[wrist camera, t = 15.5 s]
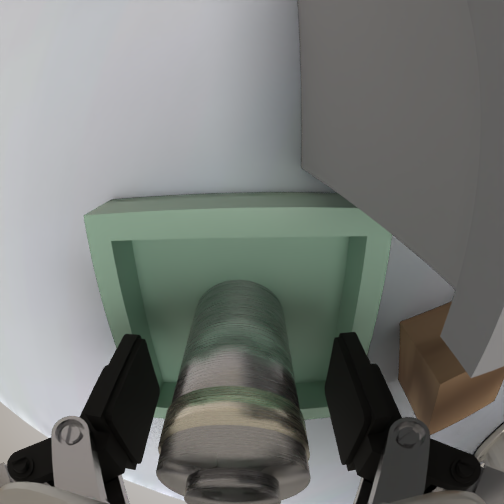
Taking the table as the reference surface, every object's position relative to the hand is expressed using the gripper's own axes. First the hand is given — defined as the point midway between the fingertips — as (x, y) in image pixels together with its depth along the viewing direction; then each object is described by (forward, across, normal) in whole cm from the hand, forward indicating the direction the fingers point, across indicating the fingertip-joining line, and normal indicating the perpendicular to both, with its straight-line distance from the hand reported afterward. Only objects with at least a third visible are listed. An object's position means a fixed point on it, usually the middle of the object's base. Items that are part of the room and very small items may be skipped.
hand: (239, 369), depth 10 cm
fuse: (+3, 0, 0) cm, 3 cm away
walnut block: (+4, -12, +3) cm, 13 cm away
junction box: (+4, -8, -10) cm, 14 cm away
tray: (+4, 0, 0) cm, 4 cm away
